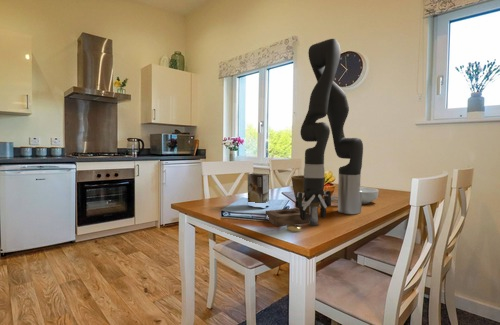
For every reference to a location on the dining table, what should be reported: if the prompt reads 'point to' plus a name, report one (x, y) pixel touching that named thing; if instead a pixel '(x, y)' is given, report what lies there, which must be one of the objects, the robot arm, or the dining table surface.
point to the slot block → (286, 217)
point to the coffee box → (258, 188)
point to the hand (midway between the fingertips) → (313, 218)
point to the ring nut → (294, 228)
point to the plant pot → (301, 188)
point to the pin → (313, 215)
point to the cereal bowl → (368, 194)
